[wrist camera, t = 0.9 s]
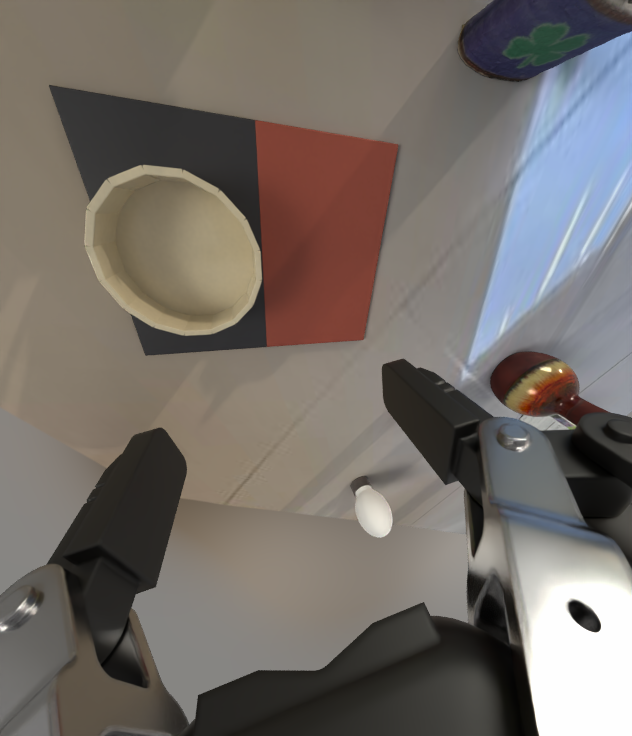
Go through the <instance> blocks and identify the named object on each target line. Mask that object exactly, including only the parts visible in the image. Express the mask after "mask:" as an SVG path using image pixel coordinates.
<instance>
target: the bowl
mask: <svg viewBox="0 0 632 736" xmlns="http://www.w3.org/2000/svg"><path fill="white" fill-rule="evenodd" d="M87 208H88V209H86V220H85V240H84V244H85V245H87V246H85V248H86V251H87V253H88V256H89V258H90V261H91V263H92V266H93V268H94V271H95V273H96V276H97V278H98V280H101V281H99V282H100V283H101V284H102V285H103V287H104V288H105V289H106V290H107V291H108V292H109V293H110V294H111V296H112V297H113V298H114V299H115V300H116V301H117V302H118V304H119V305H120V306H121V307H122V308H125V309H124V310H125V311H127V312H129V313H130V314H132V315H134V316H135V317H137V318H138V319H140V320H142V321H143V322H145V323H146V324H148V325H150V326H151V327H154V328H156V329H160V330H164V331H168V332H171V333H175V334H179V335H185V336H191V335H209V334H212V333H213V334H214V333H217V332H219V331H221V330H223V329H226V328H228V327H230V326H233V325H235V323H238V321H239V320H240V319H241V318H242V317H243V316H244V315H245V314H246V313H247V312H248V311H249V310H250V309H251V308H252V307H253V305H254V302H255V300H256V297H257V294H258V291H259V288H260V285H261V282H262V281H261V280H262V269H261V252H260V248H259V246H258V244H257V242H256V239H255V237H254V235H253V232H252V230H251V228H250V225H249V223H248V221H247V219H246V217H245V216H244V215H243V214H242V213H241V212H240V211H239V210H238V209H237V207H236V206H235V205H234V204H233V203H232V202H231V201H230V200H229V199H228V198H227V196H226V195H225V194H224V193H223V192H222V191H221V190H219V188H217V187H215V186H213V185H211V184H209V183H208V182H206V181H204V180H202V179H200V178H198V177H197V176H195V175H193V174H191V173H189V172H187V171H185V170H182V169H178V168H169V167H160V166H151V165H143V166H142V165H139V166H136V167H134V168H132V169H129V170H127V171H124V172H122V173H119V174H117V175H114V176H112V177H109V178H108V180H105V181H104V183H103V184H102V186H101V187H100V189H99V190H98V192H97V193H96V194H95V196H94V197H93V199H92V200H91V202H90V203H89V205H88V206H87Z"/></svg>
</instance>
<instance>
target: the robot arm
mask: <svg viewBox="0 0 632 736" xmlns="http://www.w3.org/2000/svg"><path fill="white" fill-rule="evenodd" d="M382 383H383V399H384V403H385V406H386V408H387V410H388V412H389V413H390V414H391V416H392V417H393V418H394V420H395V421H396V422H397V423H398V425H399V426H400V427H401V429H402V430H403V431H404V432H405V434H406V435H407V436H408V437H409V439H410V440H411V441H412V443H413V444H414V445H415V446H416V448H417V449H418V450H419V452H420V453H421V454H422V455H423V457H424V458H425V459H426V461H427V462H428V463H429V464H430V466H431V467H432V468H433V470H434V471H435V472H436V473H437V475H438V476H439V477H440V478H441V480H442V481H443V482H444V484H445V485H447V484H450V483H453V482H455V481H459V482H460V483H461V484H462V485H463V486H464V488H465V489H464V505H465V520H466V535H467V550H468V575H467V613H468V623H466V622H462V621H459V620H456V619H453V618H447V617H441V616H430V614H429V612H428V610H427V608H426V606H425V604H424V602H423V603H420V604H418V605H415V606H413V607H411V608H408V609H406V610H404V611H401V612H399V613H396V614H394V615H391V616H389V617H387V618H384V619H382V620H379V621H377V622H374V623H372V624H371V625H370V626H369V627H368V628H367V629H366V630H365V631H364V632H363V633H362V634H360V635H359V636H358V637H357V638H356V639H355V640H354V641H353V642H352V643H351V644H350V645H349V646H348V647H346V648H345V649H344V650H343V651H342V652H341V653H340V654H339V655H338V656H337V657H335V658H334V659H333V660H332V661H331V662H330V663H329V664H328V665H327V666H325V667H324V668H323V669H320V670H316V671H267V670H266V671H265V670H264V671H263V670H261V671H260V670H258V671H256V672H253V673H251V674H248V675H246V676H244V677H241V678H239V679H236V680H234V681H232V682H229V683H227V684H224V685H222V686H219V687H217V688H215V689H212V690H210V691H207V692H205V693H203V694H200V695H198V701H197V710H196V718H195V719H194V720H193V721H192V722H191V724H190V725H189V722H188V720H187V718H186V716H185V714H184V712H183V711H182V709H181V707H180V705H179V704H178V703H177V701H176V700H175V699H174V698H173V697H172V696H171V695H170V694H169V692H168V691H167V690H166V688H165V687H164V685H163V683H162V681H161V678H160V675H159V673H158V670H157V667H156V665H155V662H154V659H153V656H152V654H151V651H150V648H149V646H148V643H147V640H146V637H145V635H144V632H143V629H142V627H141V624H140V621H139V619H138V616H137V614H136V612H135V610H133V609H132V608H131V607H132V603H133V601H134V598H135V595H136V594H138V593H140V592H143V591H146V590H149V589H151V588H154V587H156V584H157V581H158V577H159V573H160V570H161V565H162V562H163V559H164V555H165V551H166V547H167V544H168V540H169V536H170V533H171V529H172V525H173V522H174V518H175V514H176V511H177V507H178V503H179V500H180V496H181V492H182V489H183V485H184V481H185V477H186V473H187V466H186V461H185V458H184V456H183V455H182V453H181V452H180V451H179V449H178V448H177V446H176V445H175V443H174V442H173V440H172V439H171V438H170V436H169V435H168V433H167V432H166V431H165V430H164V429H163V428H157V429H153V430H150V431H146V432H143V433H139V434H136V435H134V436H133V437H132V438H131V440H130V442H129V443H128V445H127V447H126V448H125V450H124V452H123V454H121V455H120V456H119V457H118V458H117V459H116V460H115V461H114V462H113V463H112V464H111V465H110V466H109V467H108V468H107V469H106V470H105V471H104V473H103V475H102V476H101V478H100V480H99V481H98V483H97V484H96V486H95V487H96V489H94V490H93V491H92V492H91V494H90V496H89V497H88V499H87V503H86V504H84V505H83V507H82V508H81V510H80V512H79V513H78V515H77V516H76V518H75V520H74V521H73V523H72V524H71V526H70V528H69V529H68V531H67V533H66V534H65V536H64V537H63V539H62V541H61V542H60V544H59V546H58V547H57V549H56V550H55V552H54V554H53V555H52V557H51V558H50V560H49V561H48V563H47V564H46V565H44V566H42V567H39V568H37V569H35V570H33V571H31V572H30V573H28V574H26V575H25V576H24V577H22V578H21V579H19V580H18V581H16V582H15V583H14V584H13V585H11V586H10V587H9V588H8V589H7V590H6V591H5V592H3V593H2V594H1V595H0V736H632V418H631V417H627V416H623V415H619V414H614V413H606V412H594V413H588V414H586V415H584V416H582V417H581V419H580V420H579V422H578V424H577V426H576V428H575V429H569V430H542V431H540V430H539V429H537V428H536V427H534V426H532V425H530V424H528V423H526V422H523V421H521V420H517V419H514V418H508V417H493V416H492V415H490V414H489V413H488V412H486V411H485V410H484V409H482V408H481V407H480V406H478V405H477V404H476V403H474V402H473V401H472V400H470V399H469V398H468V397H466V396H465V395H464V394H462V393H461V392H460V391H458V390H455V388H454V387H453V386H452V385H450V384H449V383H448V382H447V383H446V382H445V380H444V379H442V378H441V377H440V376H438V375H437V374H435V373H434V372H431V371H428V370H426V369H423V368H417V369H416V368H415V367H414V366H413V365H411V364H410V363H409V362H408V361H406V360H405V359H400V360H396V361H393V362H390V363H386V364H383V366H382Z"/></svg>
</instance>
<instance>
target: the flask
mask: <svg viewBox="0 0 632 736" xmlns="http://www.w3.org/2000/svg"><path fill="white" fill-rule="evenodd" d="M631 31H632V0H493V1H492V2H491V3H490V4H488V5H487V6H486V7H485V8H484V9H483V10H481V11H480V12H479V13H478V14H476V15H475V16H473V17H472V18H471V19H470V20H468V21H467V22H466V24H464V25H462V31H461V33H460V37H459V40H458V53H459V55H460V57H461V59H462V60H463V61H464V63H465V64H466V65H467V66H469V67H470V68H472V69H474V70H475V72H478V73H480V74H481V75H483V76H488V77H489V78H498V79H502V80H509V81H518V82H519V81H522V80H526V79H529V78H532V77H534V76H536V75H538V74H539V73H541V72H543V71H546V70H548V69H550V68H553V67H555V66H557V65H559V64H561V63H563V62H565V61H566V60H569V59H571V58H573V57H575V56H577V55H580V54H583V53H584V52H586V51H588V50H590V49H592V48H595V47H597V46H599V45H602V44H604V43H606V42H608V41H610V40H612V39H614V38H616V37H618V36H621V35H623V34H625V33H628V32H631Z"/></svg>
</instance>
